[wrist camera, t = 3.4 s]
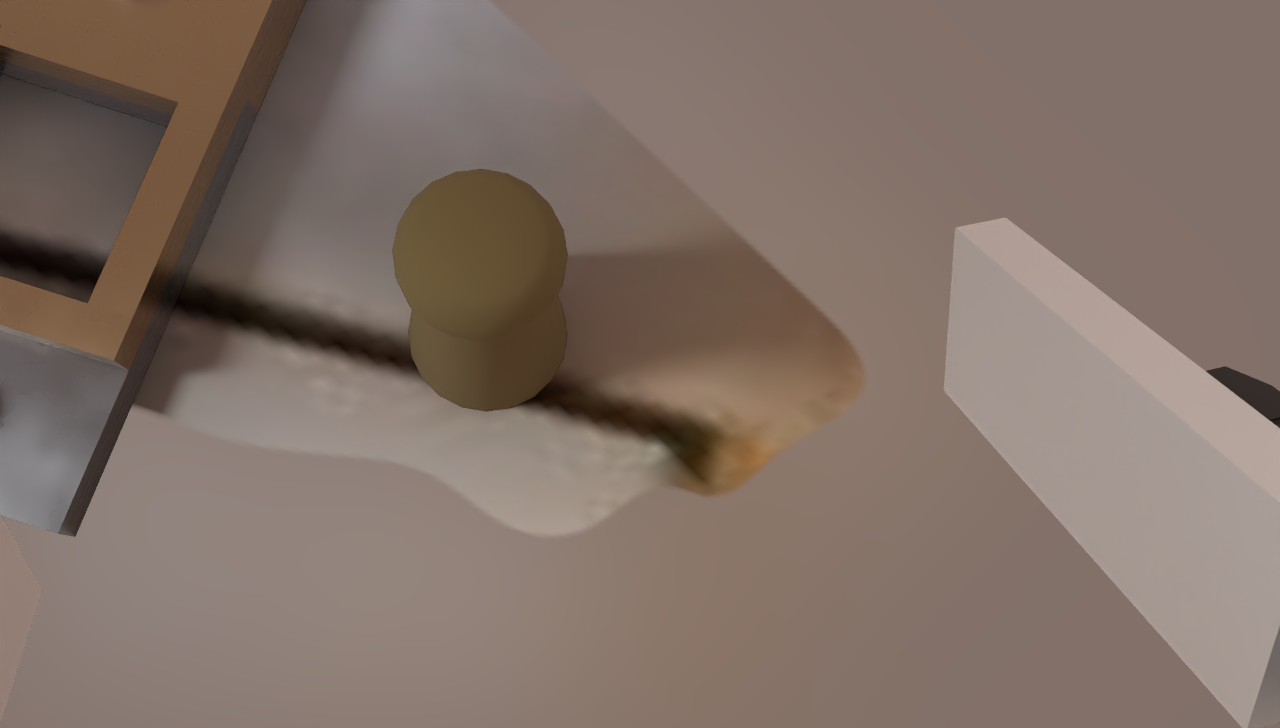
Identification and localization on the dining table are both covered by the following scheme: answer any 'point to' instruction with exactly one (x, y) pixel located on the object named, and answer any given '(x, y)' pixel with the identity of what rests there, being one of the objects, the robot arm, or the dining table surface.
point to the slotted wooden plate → (151, 235)
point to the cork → (483, 288)
